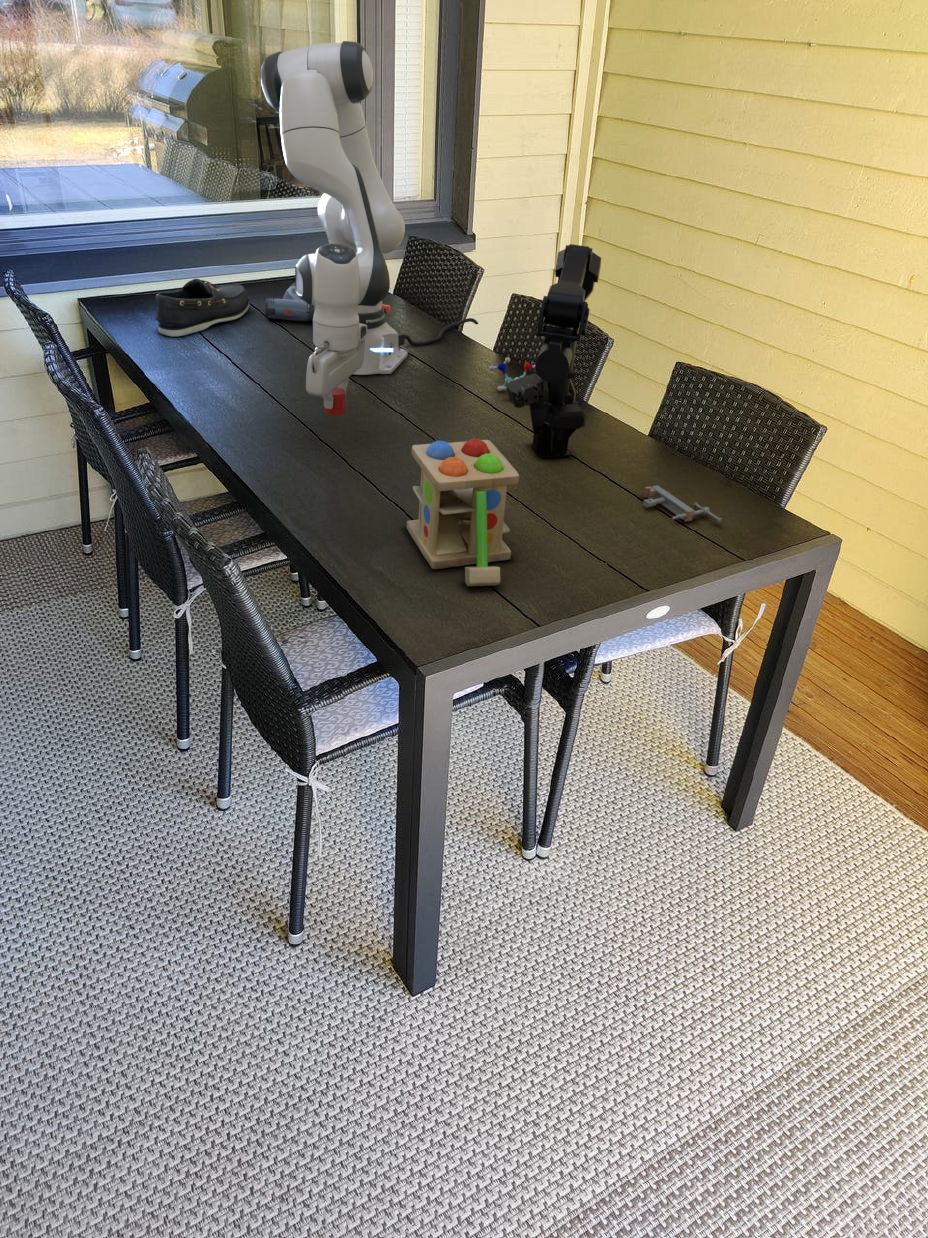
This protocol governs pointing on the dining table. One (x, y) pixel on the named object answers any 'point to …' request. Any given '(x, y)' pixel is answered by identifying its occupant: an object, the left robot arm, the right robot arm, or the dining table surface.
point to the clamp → (655, 498)
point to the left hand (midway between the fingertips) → (334, 402)
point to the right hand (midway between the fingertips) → (545, 443)
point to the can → (337, 403)
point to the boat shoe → (199, 307)
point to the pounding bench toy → (463, 507)
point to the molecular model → (508, 379)
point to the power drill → (289, 307)
